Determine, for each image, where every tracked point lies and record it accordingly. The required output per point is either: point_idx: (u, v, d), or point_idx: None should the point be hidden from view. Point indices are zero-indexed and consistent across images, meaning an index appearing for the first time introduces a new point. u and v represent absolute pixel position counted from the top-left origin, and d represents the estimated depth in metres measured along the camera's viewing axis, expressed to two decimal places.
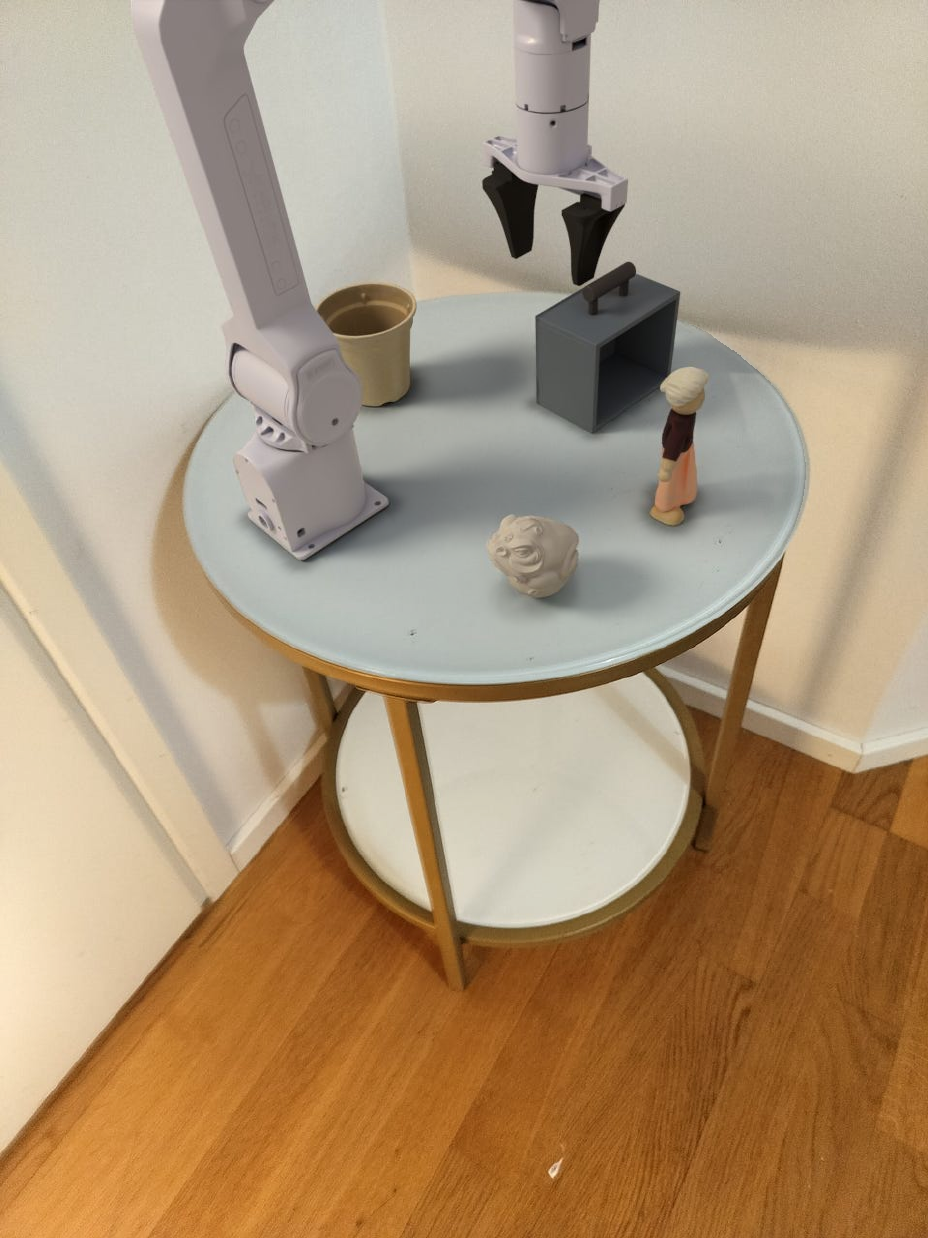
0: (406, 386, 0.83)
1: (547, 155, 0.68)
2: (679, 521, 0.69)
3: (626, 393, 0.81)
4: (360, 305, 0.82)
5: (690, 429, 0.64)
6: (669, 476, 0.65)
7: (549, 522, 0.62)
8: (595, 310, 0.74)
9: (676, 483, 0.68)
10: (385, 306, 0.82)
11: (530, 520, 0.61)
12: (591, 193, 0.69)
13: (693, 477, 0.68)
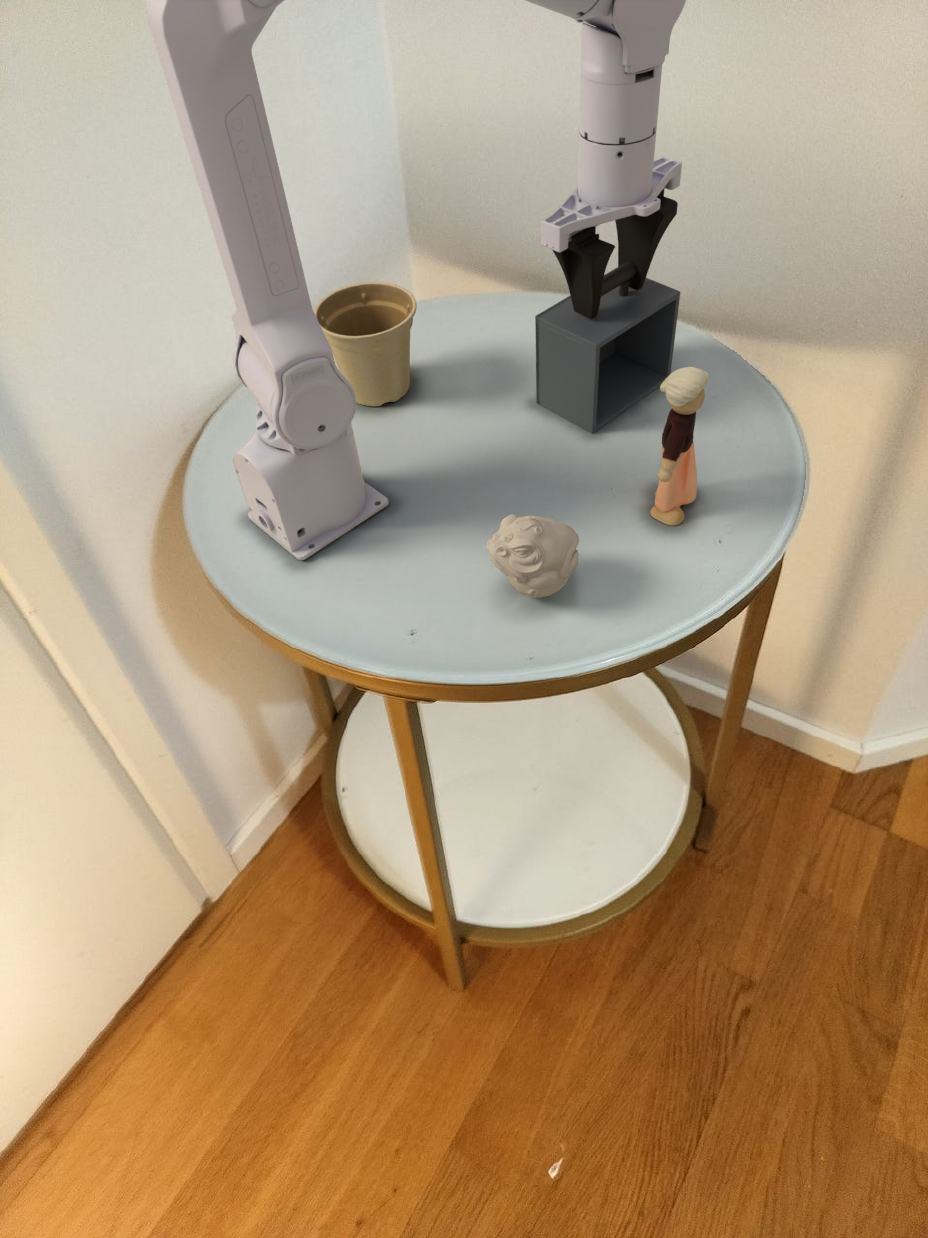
0: (406, 386, 0.83)
1: None
2: (679, 521, 0.69)
3: (626, 393, 0.81)
4: (360, 305, 0.82)
5: (690, 429, 0.64)
6: (669, 476, 0.65)
7: (549, 522, 0.62)
8: None
9: (676, 483, 0.68)
10: (385, 306, 0.82)
11: (530, 520, 0.61)
12: None
13: (693, 477, 0.68)
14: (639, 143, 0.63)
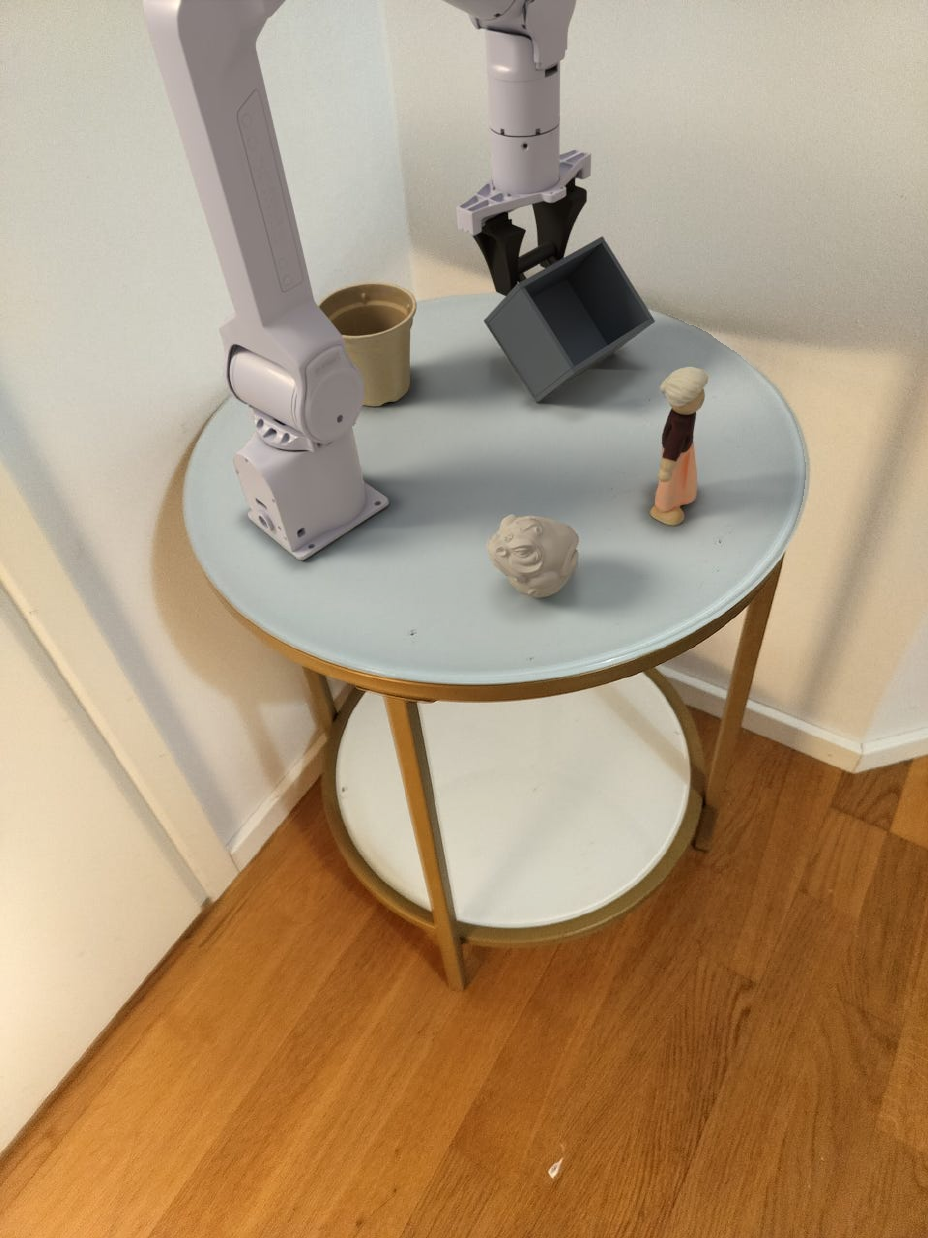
0: (406, 386, 0.83)
1: None
2: (679, 521, 0.69)
3: None
4: (360, 305, 0.82)
5: (690, 429, 0.64)
6: (669, 476, 0.65)
7: (549, 522, 0.62)
8: None
9: (676, 483, 0.68)
10: (385, 306, 0.82)
11: (530, 520, 0.61)
12: None
13: (693, 477, 0.68)
14: (542, 135, 0.69)
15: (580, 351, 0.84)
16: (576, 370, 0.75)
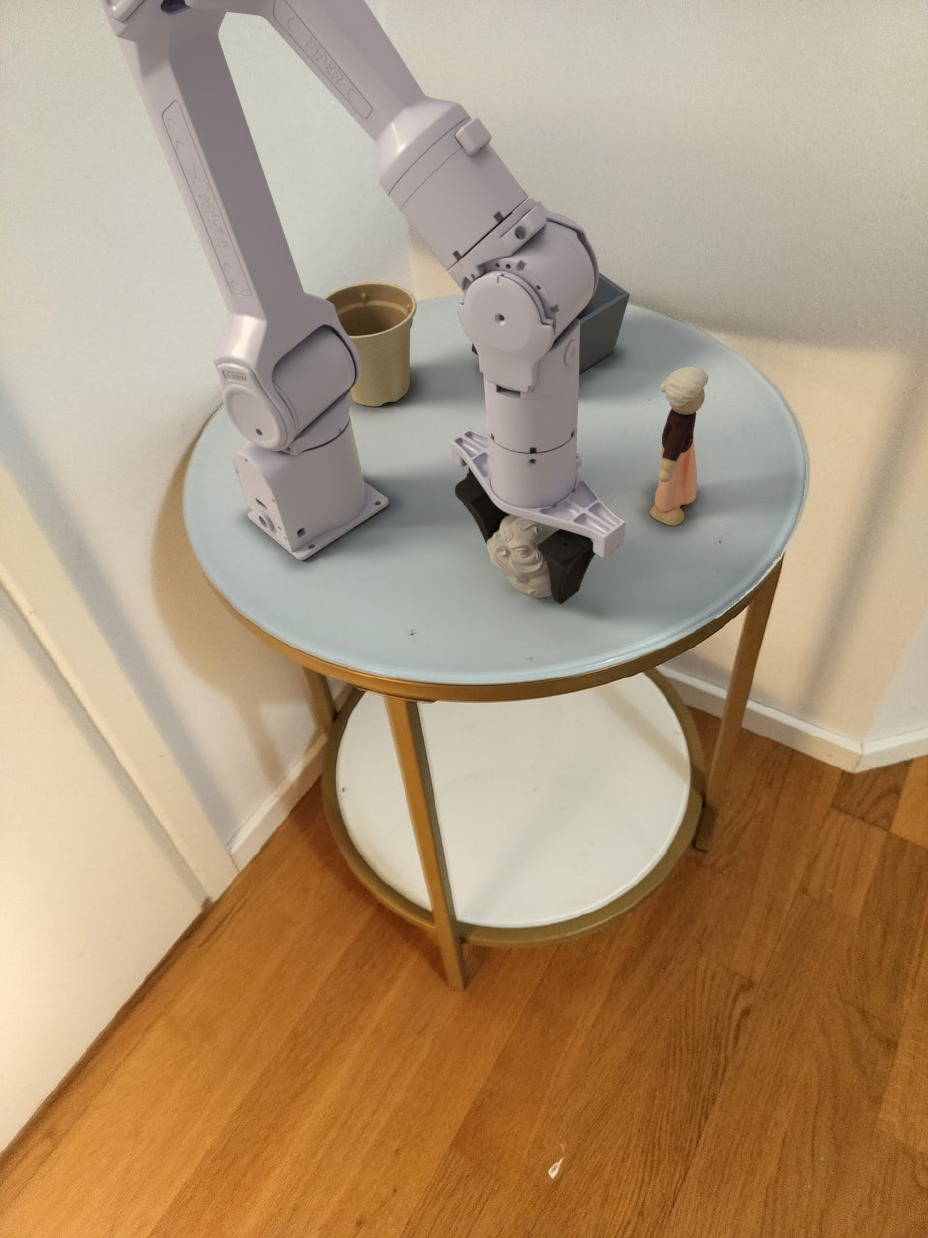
0: (406, 386, 0.83)
1: (526, 491, 0.55)
2: (679, 521, 0.69)
3: None
4: (360, 305, 0.82)
5: (690, 429, 0.64)
6: (669, 476, 0.65)
7: None
8: None
9: (676, 483, 0.68)
10: (385, 306, 0.82)
11: (530, 520, 0.61)
12: None
13: (693, 477, 0.68)
14: None
15: None
16: None
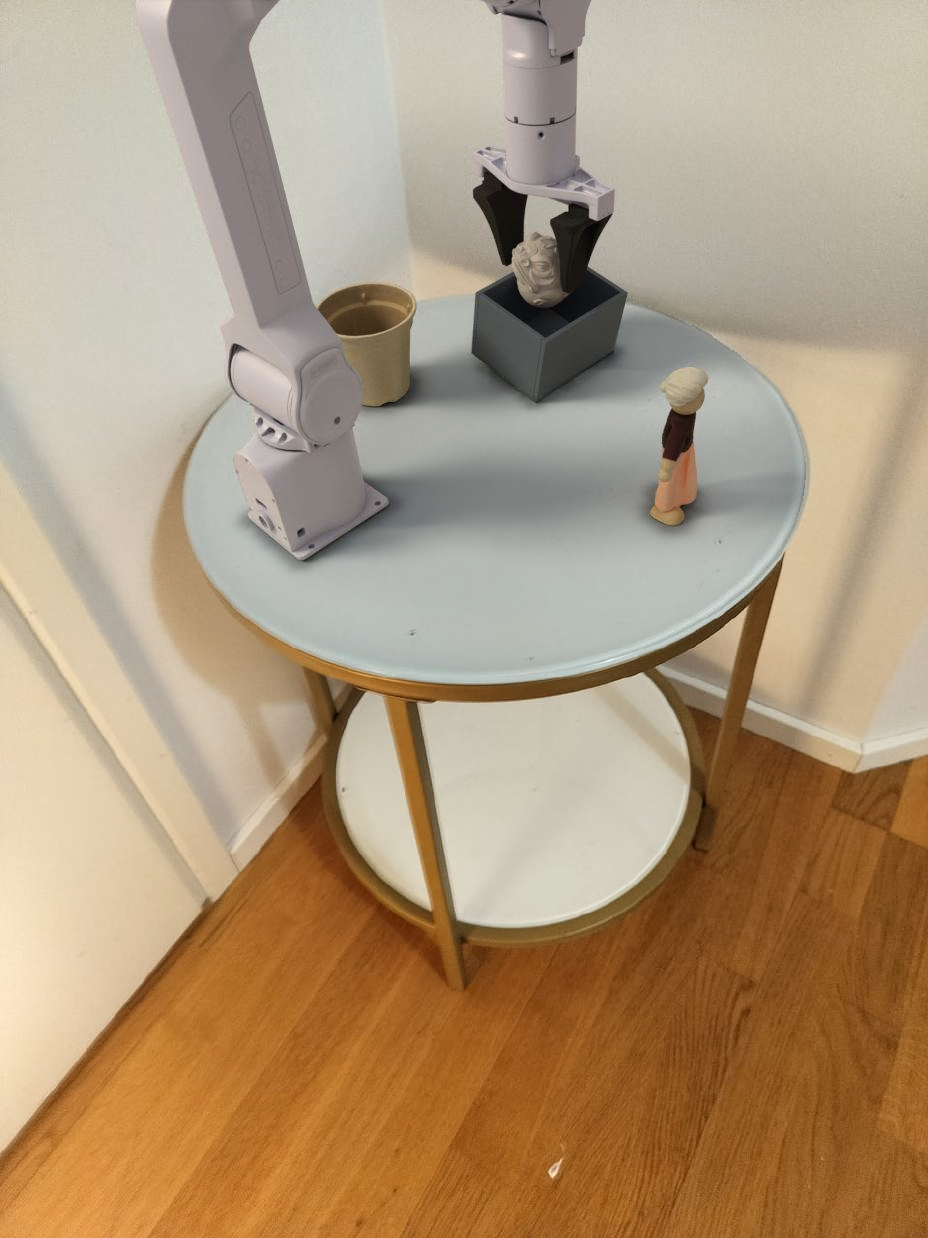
0: (406, 386, 0.83)
1: (536, 166, 0.69)
2: (679, 521, 0.69)
3: None
4: (360, 305, 0.82)
5: (690, 429, 0.64)
6: (669, 476, 0.65)
7: None
8: None
9: (676, 483, 0.68)
10: (385, 306, 0.82)
11: (552, 240, 0.76)
12: (579, 203, 0.71)
13: (693, 477, 0.68)
14: None
15: None
16: (547, 340, 0.76)
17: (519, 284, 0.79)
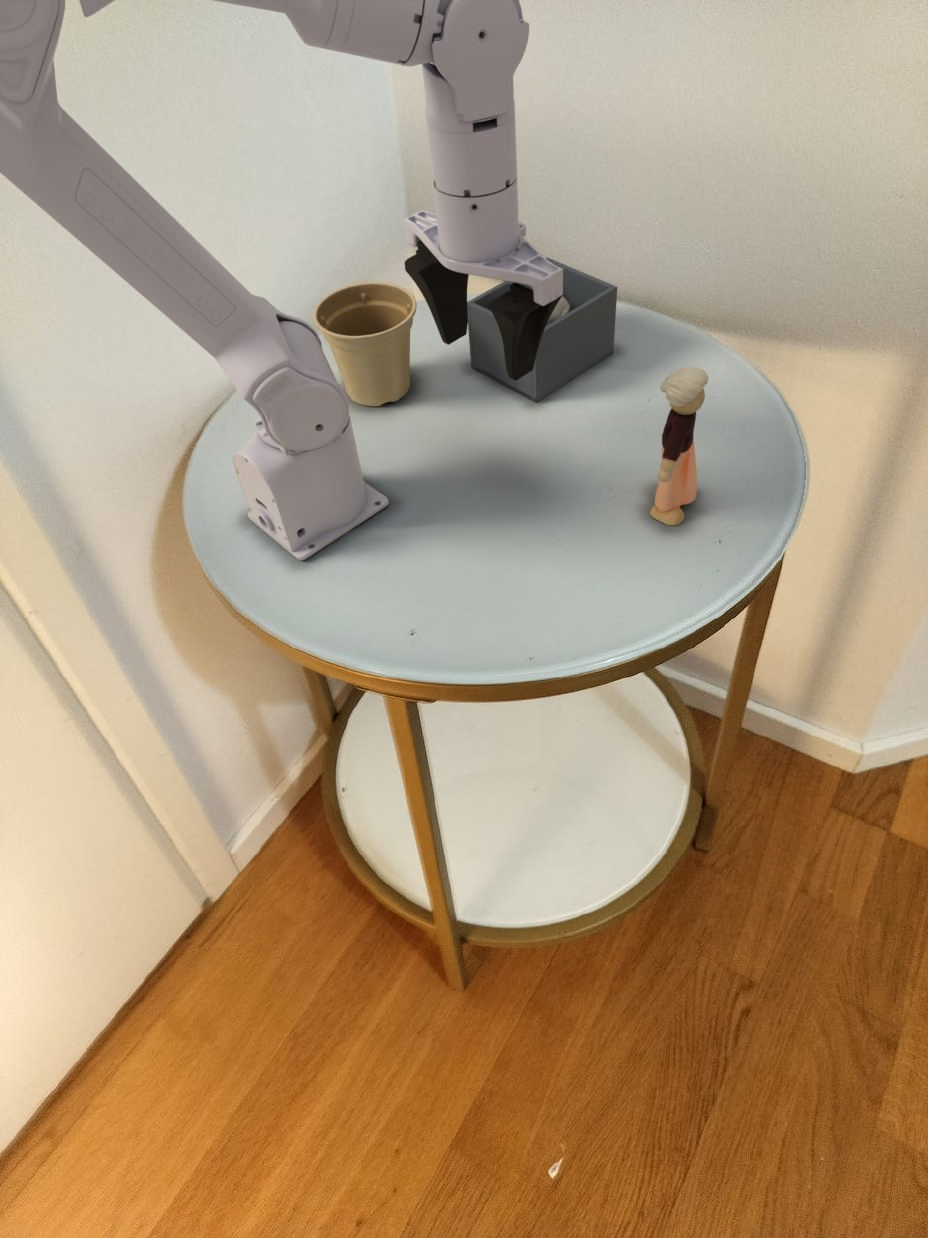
0: (406, 386, 0.83)
1: (471, 242, 0.59)
2: (679, 521, 0.69)
3: None
4: (360, 305, 0.82)
5: (690, 429, 0.64)
6: (669, 476, 0.65)
7: None
8: None
9: (676, 483, 0.68)
10: (385, 306, 0.82)
11: None
12: (523, 283, 0.60)
13: (693, 477, 0.68)
14: None
15: None
16: None
17: None
